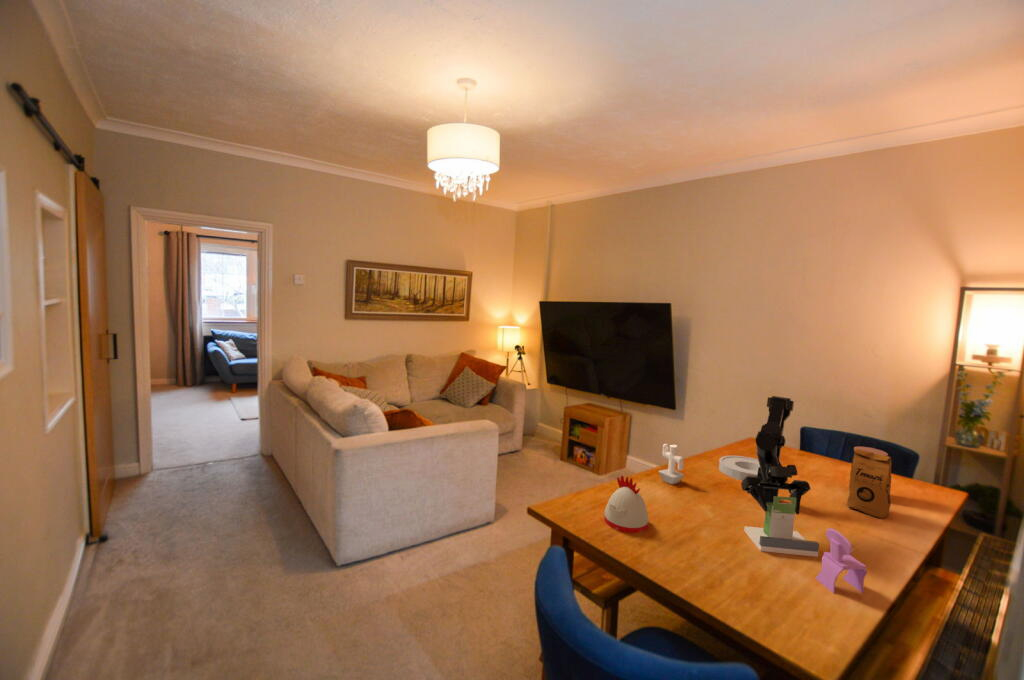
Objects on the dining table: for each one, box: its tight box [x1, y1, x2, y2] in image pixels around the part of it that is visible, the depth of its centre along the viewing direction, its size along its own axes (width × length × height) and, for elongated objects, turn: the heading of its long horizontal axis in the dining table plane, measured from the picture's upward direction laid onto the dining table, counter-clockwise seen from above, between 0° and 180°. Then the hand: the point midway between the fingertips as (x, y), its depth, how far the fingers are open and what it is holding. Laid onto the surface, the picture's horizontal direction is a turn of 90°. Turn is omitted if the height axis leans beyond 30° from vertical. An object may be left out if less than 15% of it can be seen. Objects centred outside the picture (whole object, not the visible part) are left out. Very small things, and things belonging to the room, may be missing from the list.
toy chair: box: [815, 527, 868, 594], centre depth 120 cm, size 8×9×15 cm
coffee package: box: [846, 449, 892, 520], centre depth 166 cm, size 10×12×22 cm
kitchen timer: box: [603, 475, 649, 534], centre depth 149 cm, size 14×14×15 cm
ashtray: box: [718, 455, 760, 482], centre depth 199 cm, size 23×23×4 cm
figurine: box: [658, 443, 686, 485], centre depth 185 cm, size 7×9×15 cm
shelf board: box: [743, 525, 820, 558], centre depth 141 cm, size 12×16×4 cm
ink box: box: [763, 495, 796, 539], centre depth 142 cm, size 7×4×13 cm, turn 85°
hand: (782, 512), depth 140 cm, fingers open, 9 cm apart
